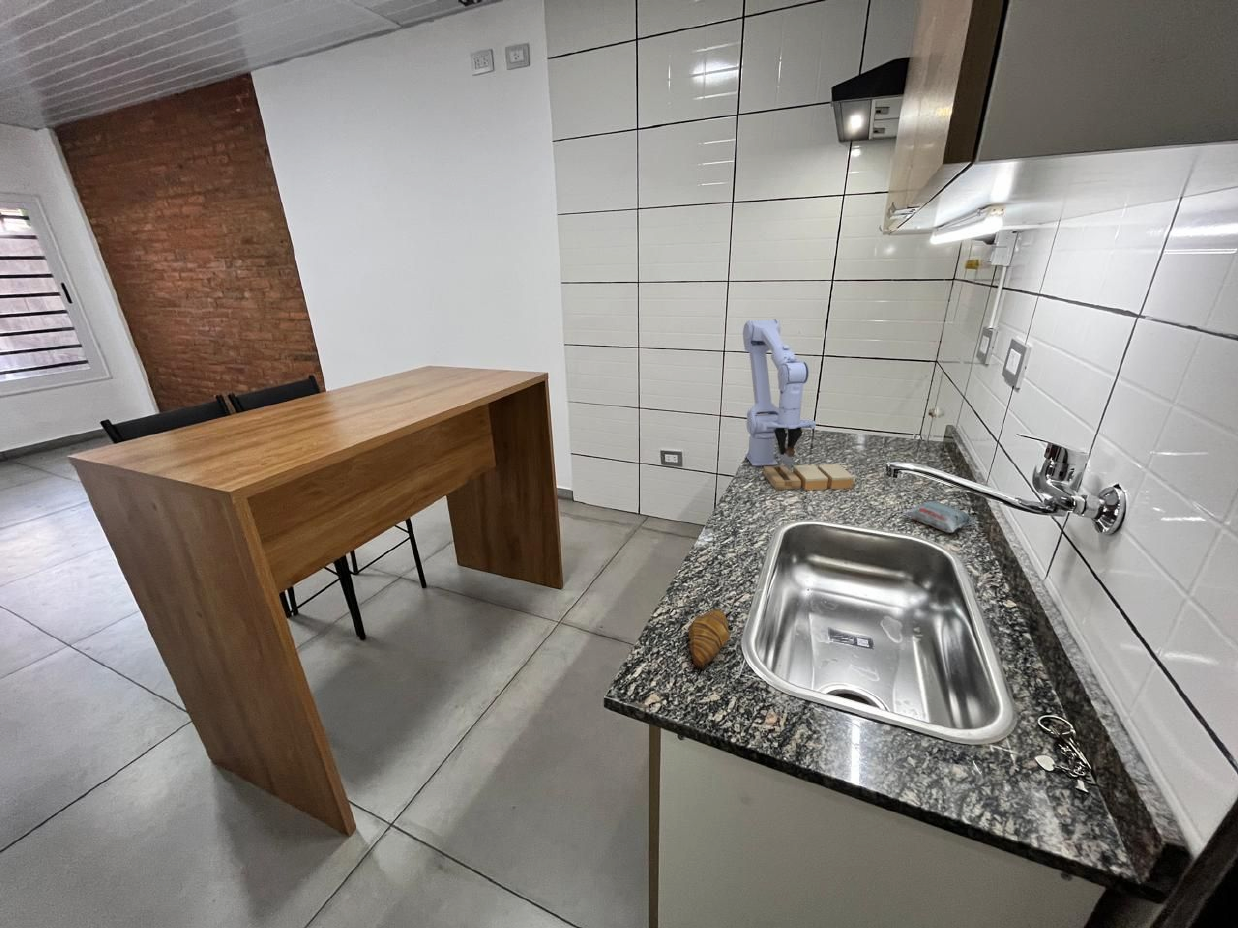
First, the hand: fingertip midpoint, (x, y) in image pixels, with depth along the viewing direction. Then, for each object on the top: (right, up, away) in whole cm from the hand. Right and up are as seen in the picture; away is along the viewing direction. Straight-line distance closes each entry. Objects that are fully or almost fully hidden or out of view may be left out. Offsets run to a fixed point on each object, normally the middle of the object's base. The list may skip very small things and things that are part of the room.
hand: (785, 453), depth 137 cm
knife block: (0, -8, +3) cm, 9 cm away
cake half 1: (+7, -8, +1) cm, 11 cm away
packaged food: (+27, -18, -24) cm, 40 cm away
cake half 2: (+14, -8, +1) cm, 17 cm away
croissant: (-32, -33, -56) cm, 73 cm away
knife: (0, -3, +1) cm, 3 cm away
